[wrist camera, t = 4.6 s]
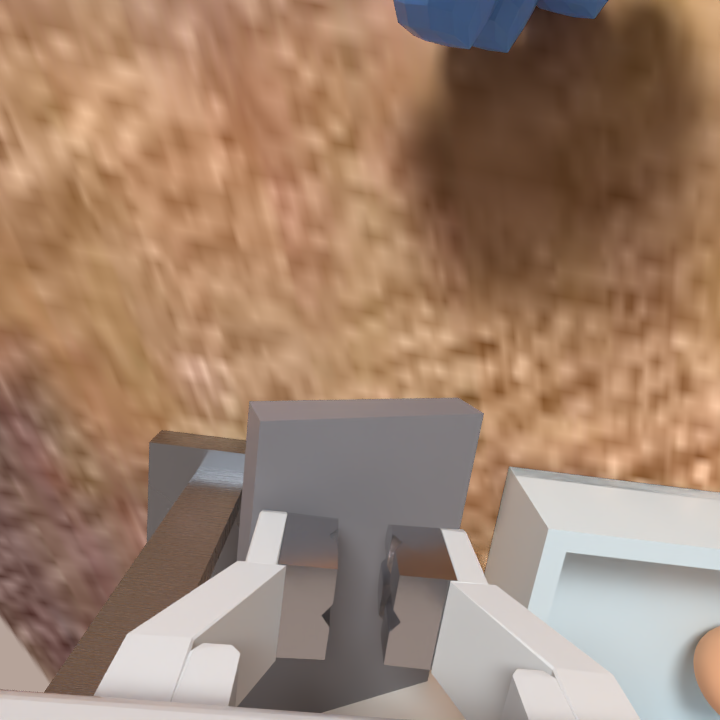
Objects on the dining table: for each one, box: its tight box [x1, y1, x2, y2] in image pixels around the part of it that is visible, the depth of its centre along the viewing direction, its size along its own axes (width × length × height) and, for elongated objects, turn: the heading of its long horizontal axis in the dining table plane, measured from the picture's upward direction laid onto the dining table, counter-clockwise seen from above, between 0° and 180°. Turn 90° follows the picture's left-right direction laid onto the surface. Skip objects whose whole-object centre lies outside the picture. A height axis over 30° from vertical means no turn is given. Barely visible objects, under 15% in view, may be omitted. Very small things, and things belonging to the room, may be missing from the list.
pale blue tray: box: [484, 467, 720, 720], centre depth 20 cm, size 14×14×4 cm
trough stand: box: [44, 430, 246, 696], centre depth 16 cm, size 6×13×13 cm, turn 172°
